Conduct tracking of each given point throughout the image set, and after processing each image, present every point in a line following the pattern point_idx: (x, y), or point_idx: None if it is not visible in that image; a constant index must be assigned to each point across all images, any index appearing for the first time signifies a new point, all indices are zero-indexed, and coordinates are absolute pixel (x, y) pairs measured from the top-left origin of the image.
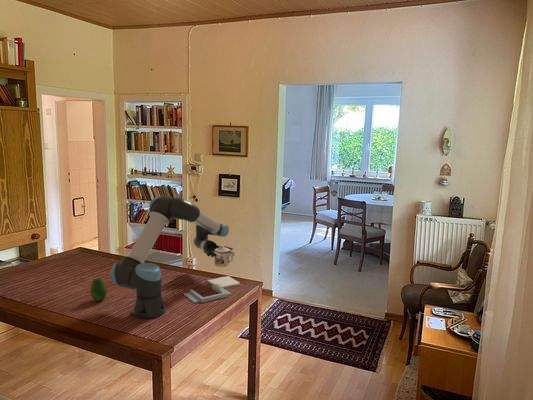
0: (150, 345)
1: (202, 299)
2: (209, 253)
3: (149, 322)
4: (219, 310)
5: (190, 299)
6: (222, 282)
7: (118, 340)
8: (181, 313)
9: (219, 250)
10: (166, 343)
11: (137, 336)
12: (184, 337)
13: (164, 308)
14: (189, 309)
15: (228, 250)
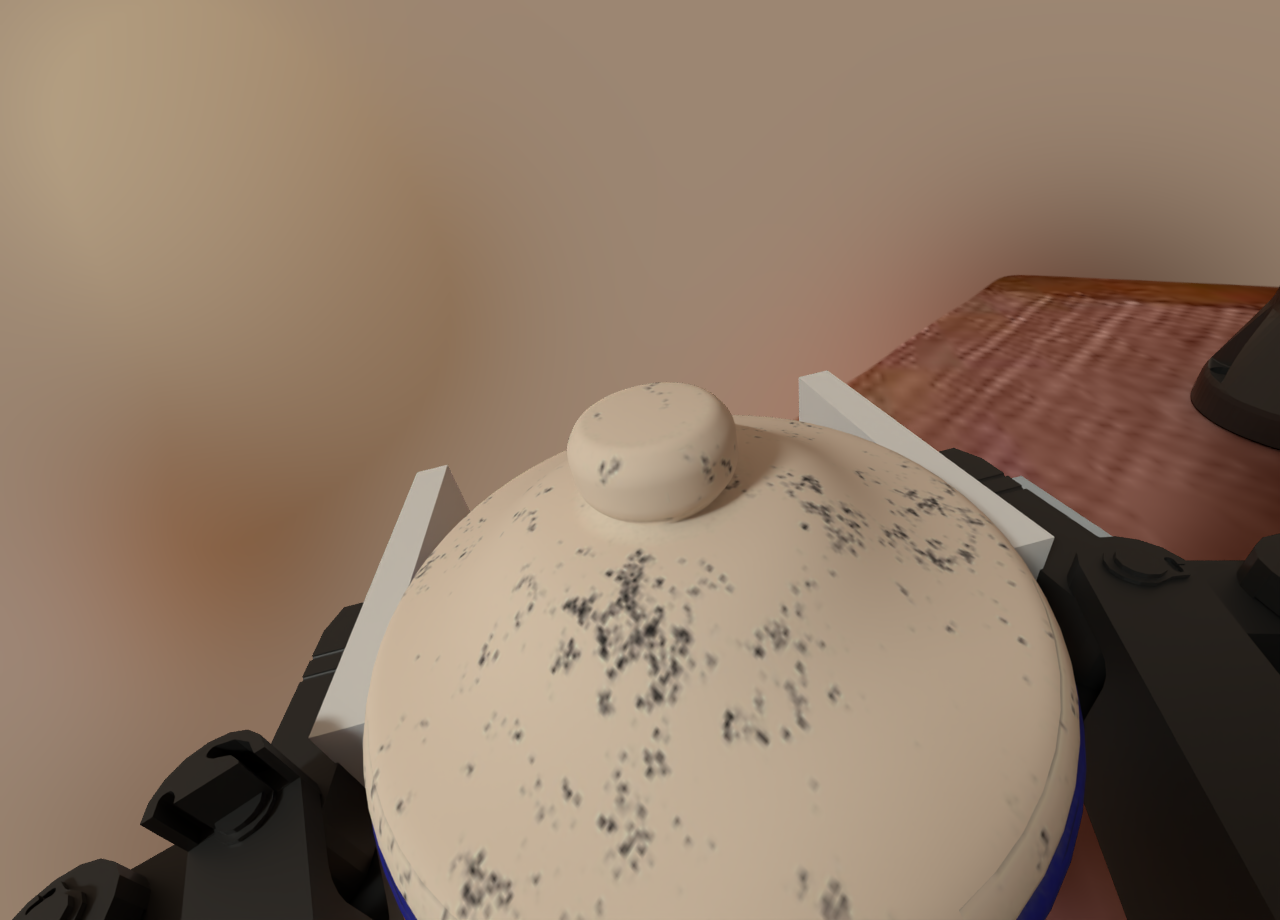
0: (1075, 286)
1: None
2: (1233, 570)
3: None
4: None
5: (1082, 521)
6: None
7: (1257, 287)
8: (1057, 401)
9: (803, 434)
10: (1016, 293)
11: (1181, 302)
12: (959, 310)
13: (1206, 380)
14: (1022, 428)
15: (525, 471)
